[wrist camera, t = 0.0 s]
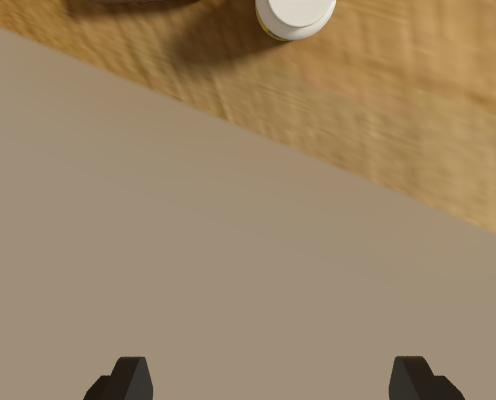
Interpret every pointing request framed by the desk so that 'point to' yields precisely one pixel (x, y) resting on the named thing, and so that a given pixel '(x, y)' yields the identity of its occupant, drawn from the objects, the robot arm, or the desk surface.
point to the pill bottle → (293, 17)
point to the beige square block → (121, 1)
